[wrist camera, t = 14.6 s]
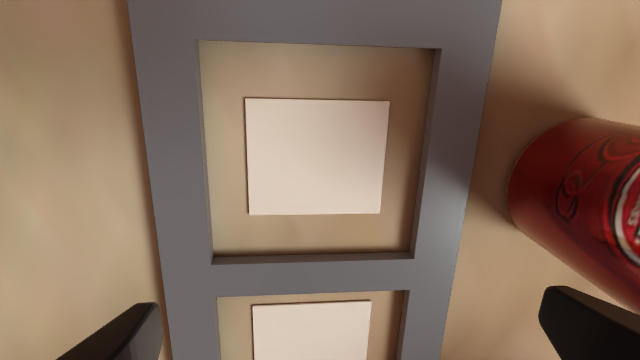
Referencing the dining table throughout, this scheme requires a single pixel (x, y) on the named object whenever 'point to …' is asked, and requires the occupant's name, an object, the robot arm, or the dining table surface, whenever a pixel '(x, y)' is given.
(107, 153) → the dining table surface
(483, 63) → the label frame
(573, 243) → the soda can
